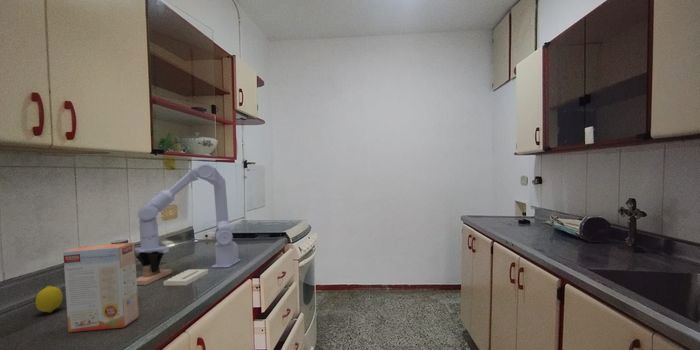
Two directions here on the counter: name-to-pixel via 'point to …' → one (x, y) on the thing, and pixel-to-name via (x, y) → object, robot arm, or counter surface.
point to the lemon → (48, 299)
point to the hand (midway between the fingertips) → (151, 271)
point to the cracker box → (101, 286)
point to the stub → (151, 275)
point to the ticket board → (186, 277)
